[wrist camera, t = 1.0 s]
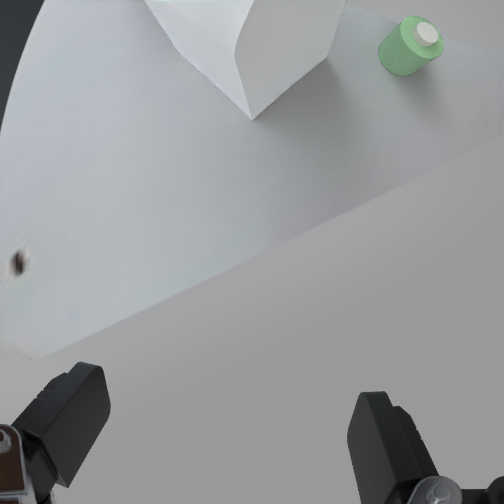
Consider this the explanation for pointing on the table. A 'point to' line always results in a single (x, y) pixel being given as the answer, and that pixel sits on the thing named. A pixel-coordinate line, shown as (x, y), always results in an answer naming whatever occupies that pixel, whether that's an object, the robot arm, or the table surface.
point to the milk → (250, 42)
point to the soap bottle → (410, 46)
